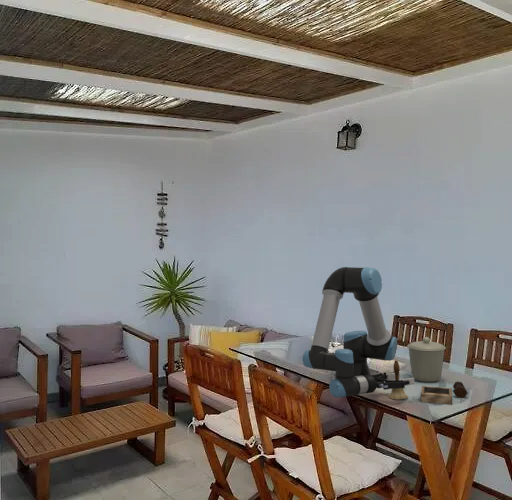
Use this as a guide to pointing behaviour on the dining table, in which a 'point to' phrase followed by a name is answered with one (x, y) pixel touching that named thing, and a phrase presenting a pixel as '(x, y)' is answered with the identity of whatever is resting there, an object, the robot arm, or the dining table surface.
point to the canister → (426, 360)
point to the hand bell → (397, 392)
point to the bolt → (459, 390)
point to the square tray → (436, 395)
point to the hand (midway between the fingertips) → (406, 378)
